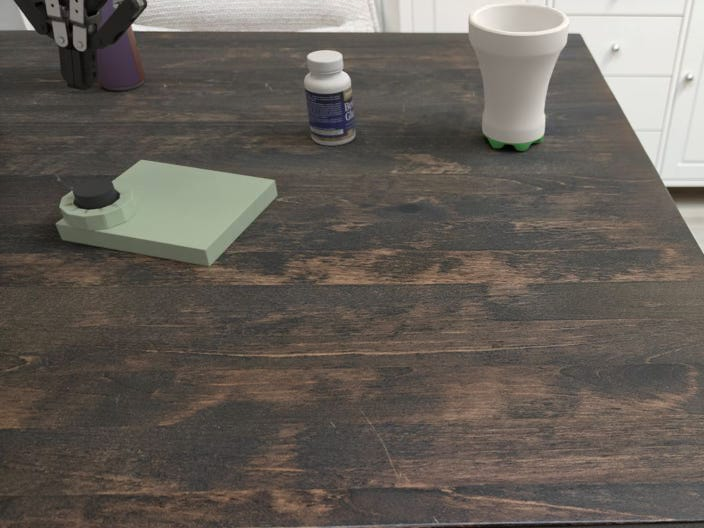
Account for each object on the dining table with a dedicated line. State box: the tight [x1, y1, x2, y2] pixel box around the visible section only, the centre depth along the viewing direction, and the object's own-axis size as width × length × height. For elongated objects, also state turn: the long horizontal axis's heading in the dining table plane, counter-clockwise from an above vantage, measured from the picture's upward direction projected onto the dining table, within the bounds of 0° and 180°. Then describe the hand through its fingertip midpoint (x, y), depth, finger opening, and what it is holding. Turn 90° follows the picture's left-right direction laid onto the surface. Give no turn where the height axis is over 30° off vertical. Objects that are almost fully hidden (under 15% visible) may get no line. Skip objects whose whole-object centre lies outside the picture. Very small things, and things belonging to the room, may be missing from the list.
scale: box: [55, 159, 278, 267], centre depth 75 cm, size 16×14×4 cm
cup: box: [467, 1, 570, 152], centre depth 86 cm, size 11×11×14 cm
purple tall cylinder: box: [97, 0, 146, 92], centre depth 97 cm, size 6×6×15 cm
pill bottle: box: [303, 49, 356, 147], centre depth 87 cm, size 5×5×10 cm
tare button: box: [72, 178, 118, 210], centre depth 71 cm, size 4×4×2 cm
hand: (81, 87), depth 72 cm, fingers closed
